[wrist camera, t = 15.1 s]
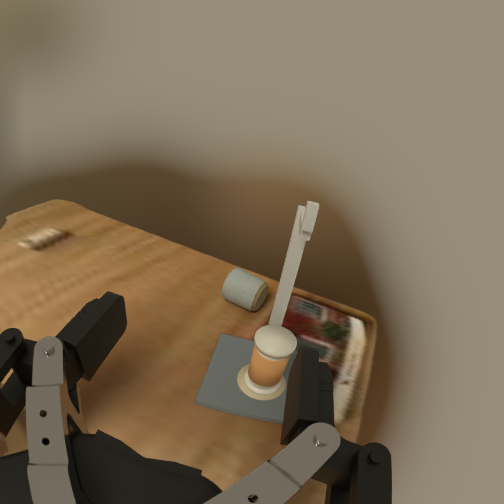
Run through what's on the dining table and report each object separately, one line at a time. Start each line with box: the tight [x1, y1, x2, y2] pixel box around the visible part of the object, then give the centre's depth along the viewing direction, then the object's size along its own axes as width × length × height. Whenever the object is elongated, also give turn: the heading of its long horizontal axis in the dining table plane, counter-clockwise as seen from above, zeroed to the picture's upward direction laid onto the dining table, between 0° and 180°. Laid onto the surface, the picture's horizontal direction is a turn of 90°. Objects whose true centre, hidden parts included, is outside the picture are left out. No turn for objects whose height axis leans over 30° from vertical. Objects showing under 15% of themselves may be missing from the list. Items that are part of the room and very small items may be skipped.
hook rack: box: [195, 201, 319, 424], centre depth 37 cm, size 18×16×31 cm
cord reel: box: [244, 325, 297, 396], centre depth 40 cm, size 6×6×10 cm
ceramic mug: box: [222, 268, 268, 311], centre depth 62 cm, size 11×8×8 cm
